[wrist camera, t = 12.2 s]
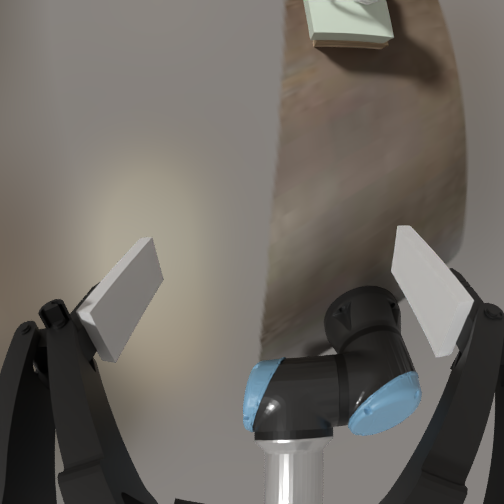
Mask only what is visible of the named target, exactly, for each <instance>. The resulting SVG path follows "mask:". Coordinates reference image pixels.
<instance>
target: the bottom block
mask: <svg viewBox="0 0 504 504" xmlns="http://www.w3.org/2000/svg"><path fill="white" fill-rule="evenodd" d="M388 45H389V44H388V41H387V42H385V43H374V42H363V41H345V40H313V46H314V47H354V48H369V49H382V48H384V47H386V46H388Z"/></svg>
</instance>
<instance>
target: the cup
mask: <svg viewBox="0 0 504 504" xmlns="http://www.w3.org/2000/svg"><path fill="white" fill-rule="evenodd" d="M353 1H356V2H359V3H362V4H365V5H369V4H372V3H375V2H377V1H378V0H353Z"/></svg>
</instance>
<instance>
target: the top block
mask: <svg viewBox="0 0 504 504" xmlns="http://www.w3.org/2000/svg"><path fill="white" fill-rule="evenodd" d="M303 1H304V6H305V11H306V17H307V22H308V28H309V34H310V40H345V41H363V42H374V43H385V42H387V41H389V40H390V39H392V38H394V35H393V30H392V25H391V20H390V15H389V11H388V6H387V2H386V0H378V1H377V2H375V3H372V4H369V5H365V4H362V3H359V2H356V1H353V0H303Z"/></svg>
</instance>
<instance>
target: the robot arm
mask: <svg viewBox="0 0 504 504" xmlns="http://www.w3.org/2000/svg"><path fill="white" fill-rule="evenodd" d="M391 272H392V274H393V275H394V277H395V279H396V281H397V282H398V284H399V286H400V288H401V289H402V291H403V293H404V295H405V297H406V299H407V300H408V302H409V304H410V306H411V308H412V310H413V311H414V314H415V315H416V317H417V319H418V321H419V323H420V325H421V327H422V329H423V331H424V333H425V335H426V337H427V339H428V342H429V344H430V346H431V348H432V350H433V352H434V354H435V357H442V356H446V355H451V353H452V351H453V349H454V347H455V345H457V346H458V348H459V350H460V351H459V353H458V355H457V357H456V358H455V360H454V362H453V364H452V366H451V368H450V369H452V371H451V374H450V377H449V379H448V382H447V384H446V387H445V389H444V392H443V395H442V397H441V399H440V401H439V404H438V406H437V408H436V410H435V413H434V415H433V417H432V419H431V421H430V423H429V425H428V427H427V429H426V431H425V433H424V435H423V437H422V439H421V441H420V442H419V444H418V446H417V448H416V450H415V452H414V453H413V455H412V457H411V458H410V460H409V462H408V463H407V465H406V467H405V468H404V470H403V472H402V473H401V475H400V476H399V478H398V479H397V481H396V482H395V484H394V485H393V487H392V488H391V490H390V491H389V492H388V494H387V495H386V496H385V498H384V499H383V500H382V501H381V502H380V503H379V504H463V503H464V500H465V498H466V495H467V487H466V486H465V481H466V478H467V476H468V473H469V471H470V469H471V466H472V464H473V461H474V459H475V456H476V453H477V451H478V448H479V445H480V442H481V440H482V436H483V433H484V430H485V427H486V424H487V420H488V417H489V413H490V410H491V405H492V402H493V397H494V393H495V427H494V441H493V451H492V459H491V467H490V473H489V478H488V484H487V489H486V494H485V498H484V502H483V504H504V313H503V311H502V310H501V309H500V308H499V307H498V306H496V305H494V304H490V303H483V301H482V300H481V298H480V297H479V296H478V295H477V293H476V292H475V291H474V290H473V288H472V287H470V285H469V283H468V282H466V280H465V279H464V278H463V276H462V275H461V274H460V273H459V272H457V271H456V270H454V269H453V268H450V269H449V268H448V267H447V266H446V265H445V264H444V262H443V261H442V260H441V259H440V258H439V257H438V256H437V254H436V253H435V252H434V251H433V250H432V249H431V248H430V247H429V245H428V244H427V243H426V242H425V241H424V240H423V239H422V238H421V237H420V236H419V235H418V234H417V233H416V231H415V230H414V229H413V228H412V227H411V226H397V234H396V241H395V249H394V256H393V262H392V268H391ZM163 280H164V279H163V276H162V273H161V268H160V265H159V261H158V257H157V253H156V250H155V246H154V242H153V238H152V237H147V238H140V239H139V240H138V241H137V242H136V243H135V244H134V245H133V246H132V248H131V249H130V250H129V251H128V252H127V253H126V254H125V255H124V256H123V257H122V258H121V259H120V260H119V262H118V263H117V264H116V265H115V266H114V267H113V268H112V269H111V271H110V272H109V273H108V274H107V275H106V276H105V277H104V278H103V280H102V281H101V282H99V283H98V284H97V285H95V286H94V287H92V288H91V290H90V291H89V292H88V293H87V295H86V296H85V297H84V298H83V300H81V302H80V303H79V304H78V305H77V306H76V308H75V309H74V310H73V311H72V312H71V314H69V312H68V310H67V308H66V306H65V304H64V302H63V300H61V299H55V300H52V301H50V302H48V303H46V304H45V305H44V306H42V308H41V309H40V310H39V316H40V318H41V319H42V321H43V323H44V325H45V327H46V328H45V329H38V327H37V325H36V323H35V322H34V321H27V322H24V323H23V324H21V325H20V326H19V327H18V328H17V330H16V332H15V333H14V336H13V339H12V341H11V344H10V347H9V349H8V352H7V355H6V358H5V361H4V364H3V366H2V370H1V373H0V504H57V500H56V487H55V428H56V433H57V438H58V443H59V448H60V452H61V456H62V460H63V464H64V471H63V472H61V473H59V474H58V484H59V487H60V491H61V494H62V497H63V500H64V503H65V504H158V503H157V501H156V500H155V499H154V497H153V496H152V495H151V494H150V493H149V492H148V491H147V489H146V488H145V486H144V484H143V483H142V481H141V479H140V477H139V475H138V473H137V471H136V469H135V467H134V464H133V462H132V460H131V458H130V456H129V453H128V451H127V449H126V447H125V444H124V442H123V440H122V437H121V435H120V432H119V430H118V427H117V425H116V422H115V419H114V416H113V414H112V411H111V408H110V405H109V402H108V400H107V396H106V393H105V390H104V387H103V384H102V380H101V377H100V374H99V370H98V367H97V363H96V361H95V359H94V358H93V356H94V355H95V353H96V351H97V352H98V354H99V356H100V357H101V359H102V360H103V361H108V362H114V363H116V362H117V360H118V358H119V356H120V354H121V352H122V350H123V349H124V346H125V345H126V343H127V341H128V340H129V338H130V336H131V334H132V332H133V331H134V329H135V327H136V325H137V324H138V322H139V320H140V318H141V317H142V315H143V313H144V312H145V310H146V308H147V306H148V305H149V303H150V301H151V300H152V298H153V296H154V295H155V293H156V291H157V290H158V288H159V286H160V285H161V283H162V281H163ZM324 326H325V332H326V336H327V338H328V340H329V342H330V343H331V345H332V346H333V348H334V349H335V351H336V352H337V354H336V355H325V356H314V357H301V358H287V359H286V358H285V357H283V358H281V359H274V360H264V361H261V362H259V363H257V364H256V365H255V366H254V367H253V369H252V371H251V373H250V376H249V379H248V382H247V386H246V391H245V397H244V404H243V414H244V418H243V423H244V427H245V429H247V430H249V431H251V432H255V443H256V444H257V445H258V446H259V447H260V448H262V449H263V451H264V452H265V468H264V469H265V470H264V504H323V449H324V448H325V446H326V445H327V444H328V443H329V442H330V441H331V440H332V439H333V427H335V426H343V425H348V428H349V429H350V430H351V432H352V433H353V434H355V435H362V436H366V435H373V434H376V433H379V432H382V431H385V430H388V429H390V428H392V427H394V426H396V425H397V424H399V423H401V422H402V421H404V420H405V419H406V418H407V417H409V416H410V415H411V414H412V413H413V412H414V411H415V410H416V408H417V407H418V405H419V403H420V401H421V395H422V392H421V388H420V384H419V380H418V374H417V372H416V371H415V368H414V366H413V363H412V361H411V358H410V355H409V353H408V351H407V348H406V346H405V343H404V341H403V338H402V336H401V315H400V309H399V306H398V304H397V301H396V299H395V298H394V296H393V295H392V294H391V293H390V292H389V291H387V290H385V289H383V288H380V287H375V286H365V287H359V288H356V289H353V290H350V291H348V292H346V293H344V294H343V295H341V296H340V297H338V298H337V299H336V300H335V301H334V302H333V303H332V304H331V306H330V307H329V308H328V310H327V312H326V315H325V319H324ZM33 365H34V366H35V368H36V371H35V372H34V369H33ZM174 504H203V503H197V502H191V501H185V500H180V499H175V502H174Z"/></svg>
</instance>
